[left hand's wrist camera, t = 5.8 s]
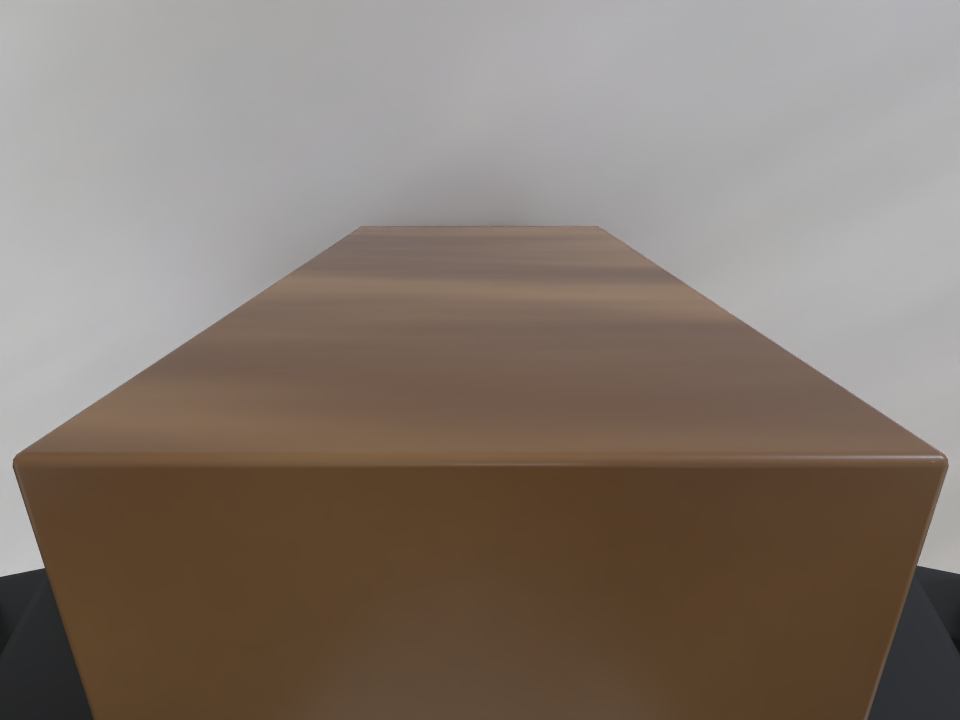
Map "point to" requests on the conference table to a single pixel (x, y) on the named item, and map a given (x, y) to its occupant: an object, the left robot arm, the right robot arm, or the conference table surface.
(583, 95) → the conference table surface
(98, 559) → the box
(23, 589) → the left robot arm
